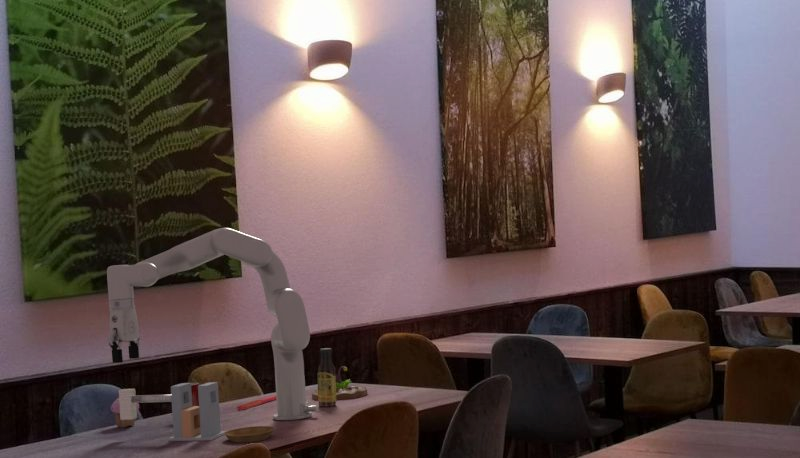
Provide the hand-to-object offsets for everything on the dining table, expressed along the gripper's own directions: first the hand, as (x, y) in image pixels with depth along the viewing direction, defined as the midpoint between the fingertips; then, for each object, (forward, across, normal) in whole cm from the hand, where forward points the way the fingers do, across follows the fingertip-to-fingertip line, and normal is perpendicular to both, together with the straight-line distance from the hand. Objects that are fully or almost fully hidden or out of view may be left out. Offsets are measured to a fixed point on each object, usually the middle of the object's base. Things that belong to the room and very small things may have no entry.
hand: (126, 360), depth 334 cm
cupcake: (+24, +21, +14) cm, 35 cm away
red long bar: (+25, +62, -15) cm, 68 cm away
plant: (+26, +78, -40) cm, 92 cm away
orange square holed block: (+23, 0, -21) cm, 32 cm away
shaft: (+18, 0, -8) cm, 20 cm away
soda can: (+24, +33, -4) cm, 41 cm away
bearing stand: (+24, 0, -22) cm, 33 cm away
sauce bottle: (+25, +56, -44) cm, 75 cm away
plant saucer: (+25, -3, -41) cm, 48 cm away
